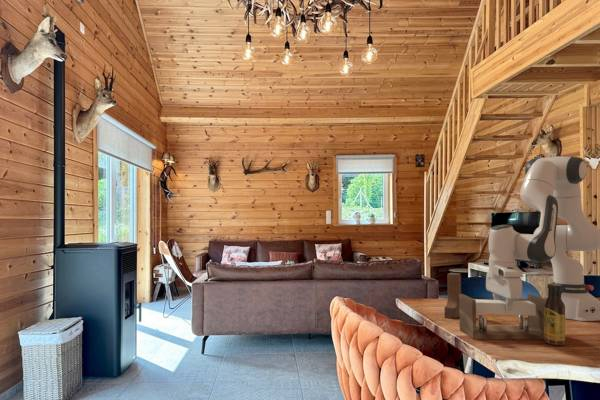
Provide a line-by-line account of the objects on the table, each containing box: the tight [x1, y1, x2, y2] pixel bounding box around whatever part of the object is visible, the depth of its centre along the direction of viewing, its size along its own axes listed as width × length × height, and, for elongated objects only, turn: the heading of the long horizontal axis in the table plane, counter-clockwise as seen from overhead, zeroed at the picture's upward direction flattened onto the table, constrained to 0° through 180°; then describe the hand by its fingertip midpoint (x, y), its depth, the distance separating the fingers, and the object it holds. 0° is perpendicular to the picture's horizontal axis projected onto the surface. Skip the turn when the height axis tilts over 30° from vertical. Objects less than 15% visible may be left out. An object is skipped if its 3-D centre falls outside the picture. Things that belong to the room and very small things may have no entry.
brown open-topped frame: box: [459, 293, 547, 340], centre depth 152 cm, size 27×12×14 cm, turn 90°
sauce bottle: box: [543, 282, 566, 346], centre depth 141 cm, size 6×6×20 cm
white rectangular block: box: [473, 298, 536, 316], centre depth 152 cm, size 20×6×4 cm, turn 81°
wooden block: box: [444, 272, 462, 319], centre depth 180 cm, size 9×4×18 cm, turn 142°
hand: (503, 307), depth 152 cm, fingers closed on white rectangular block, 6 cm apart
